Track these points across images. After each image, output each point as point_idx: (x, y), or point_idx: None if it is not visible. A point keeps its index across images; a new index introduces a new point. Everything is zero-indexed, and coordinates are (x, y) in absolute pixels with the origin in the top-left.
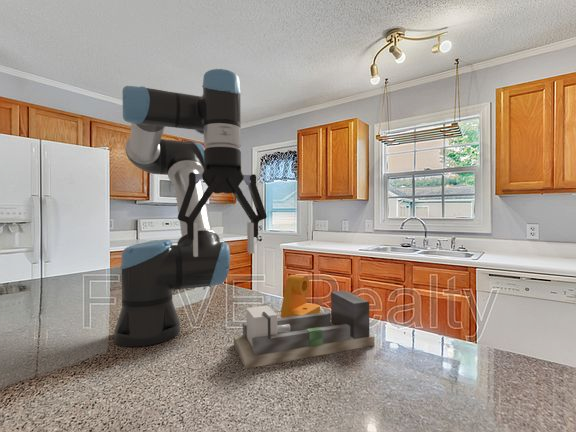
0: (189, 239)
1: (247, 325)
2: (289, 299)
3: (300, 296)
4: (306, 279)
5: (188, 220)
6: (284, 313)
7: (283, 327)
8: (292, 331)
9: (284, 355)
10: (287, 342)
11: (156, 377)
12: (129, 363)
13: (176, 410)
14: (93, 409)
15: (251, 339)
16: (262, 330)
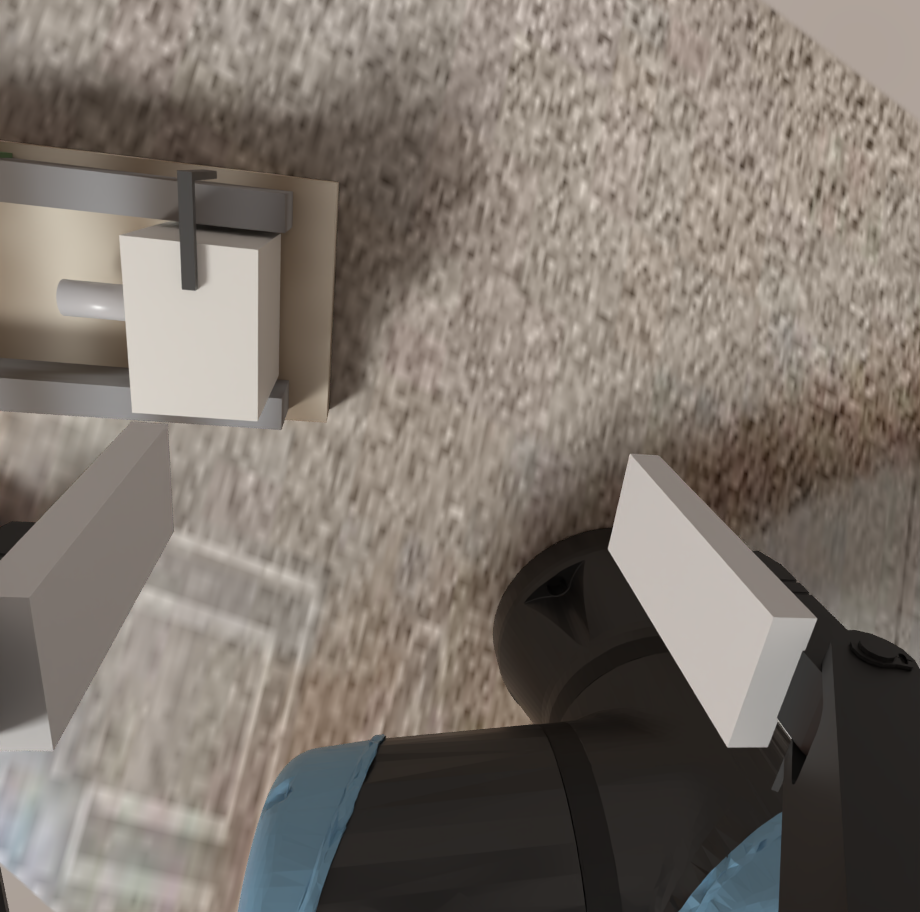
0: (753, 551)
1: (270, 377)
2: None
3: None
4: None
5: (903, 656)
6: None
7: (98, 287)
8: (46, 360)
9: (157, 160)
10: (120, 172)
11: (635, 276)
12: (691, 419)
13: (622, 16)
14: (822, 163)
15: (276, 289)
16: (225, 237)
